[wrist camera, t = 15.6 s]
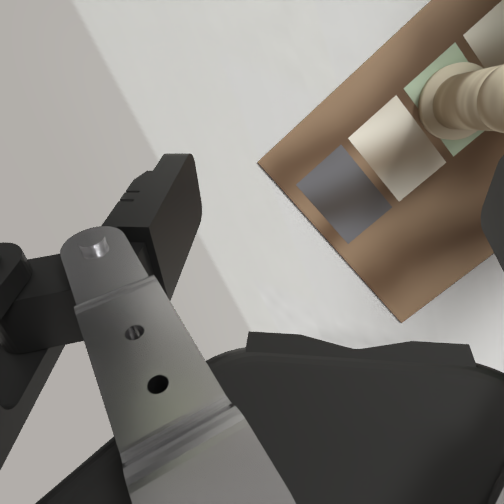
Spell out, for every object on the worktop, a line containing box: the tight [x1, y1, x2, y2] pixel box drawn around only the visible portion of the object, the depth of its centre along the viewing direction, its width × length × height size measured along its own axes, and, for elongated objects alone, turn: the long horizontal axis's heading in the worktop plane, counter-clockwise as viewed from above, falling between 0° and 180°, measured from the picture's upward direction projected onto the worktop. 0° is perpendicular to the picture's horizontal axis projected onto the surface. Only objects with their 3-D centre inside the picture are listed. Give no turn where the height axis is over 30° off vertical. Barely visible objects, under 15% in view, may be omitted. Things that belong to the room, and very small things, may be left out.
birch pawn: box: [418, 62, 504, 140], centre depth 27 cm, size 6×6×10 cm
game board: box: [258, 0, 504, 323], centre depth 33 cm, size 20×22×1 cm
